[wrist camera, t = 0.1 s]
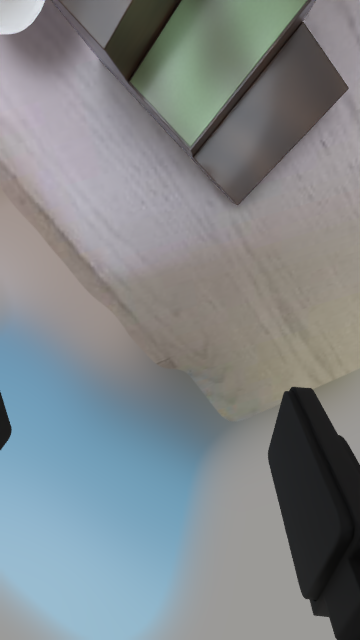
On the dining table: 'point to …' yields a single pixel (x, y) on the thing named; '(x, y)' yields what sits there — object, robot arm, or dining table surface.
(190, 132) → the wooden step stool
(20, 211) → the dining table surface
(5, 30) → the figurine
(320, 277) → the dining table surface
